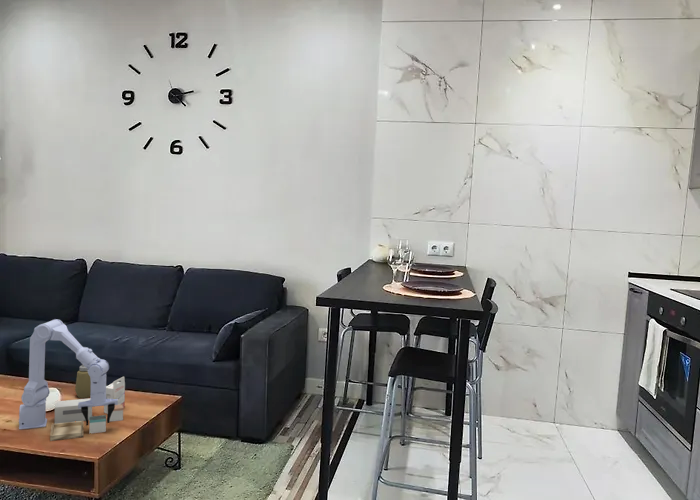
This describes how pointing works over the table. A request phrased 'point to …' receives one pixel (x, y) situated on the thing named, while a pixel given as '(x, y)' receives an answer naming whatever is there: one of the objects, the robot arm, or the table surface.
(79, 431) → the oak tray
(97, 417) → the small white teal box
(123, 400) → the ink cartridge box
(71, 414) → the printer unit
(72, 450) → the table surface
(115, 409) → the light grey block
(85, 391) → the squeeze bottle
